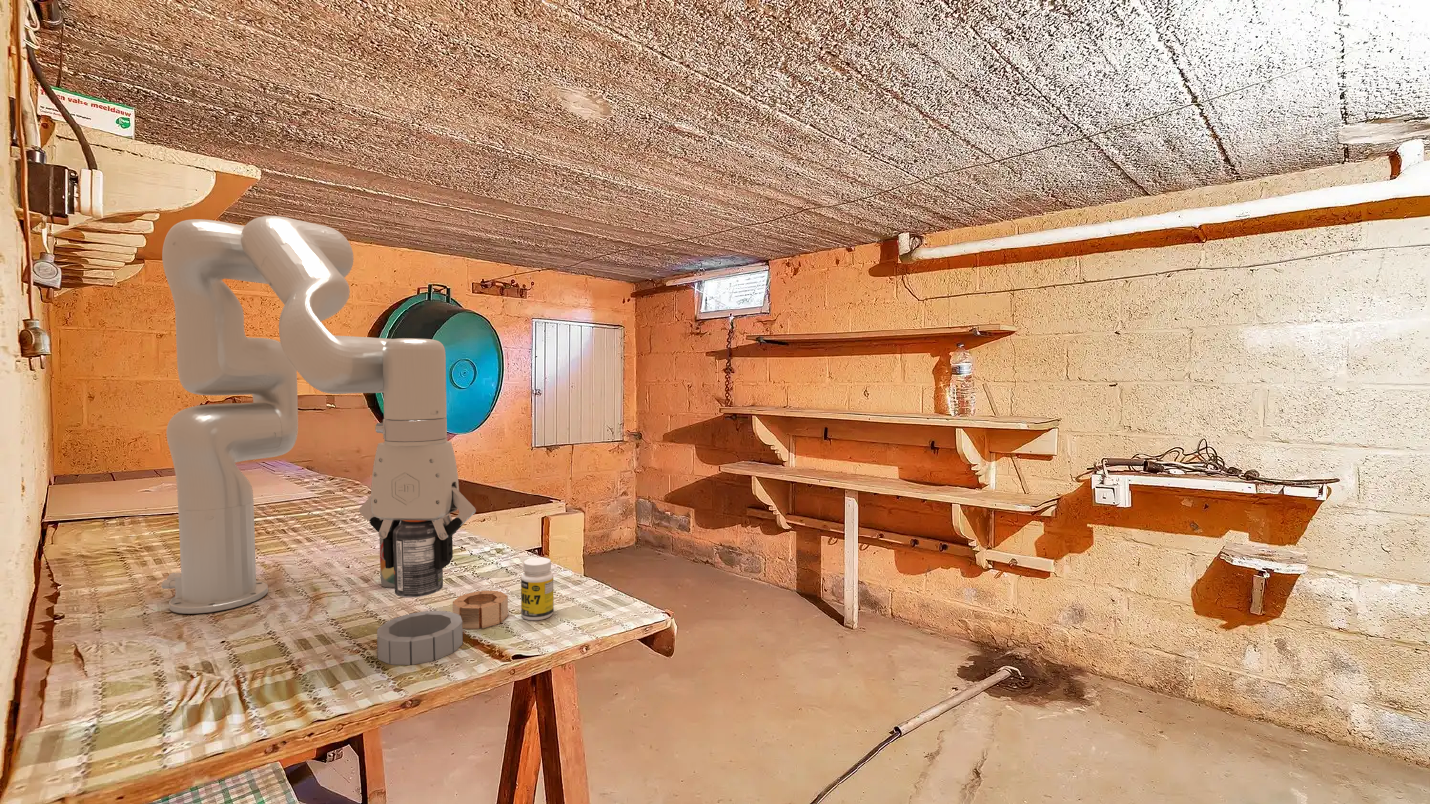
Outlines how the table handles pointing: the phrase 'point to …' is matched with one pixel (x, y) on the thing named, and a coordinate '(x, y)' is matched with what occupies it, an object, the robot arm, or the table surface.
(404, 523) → the pill bottle
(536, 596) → the supplement bottle
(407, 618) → the grey segmented ring
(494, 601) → the wooden ring
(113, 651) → the table surface
